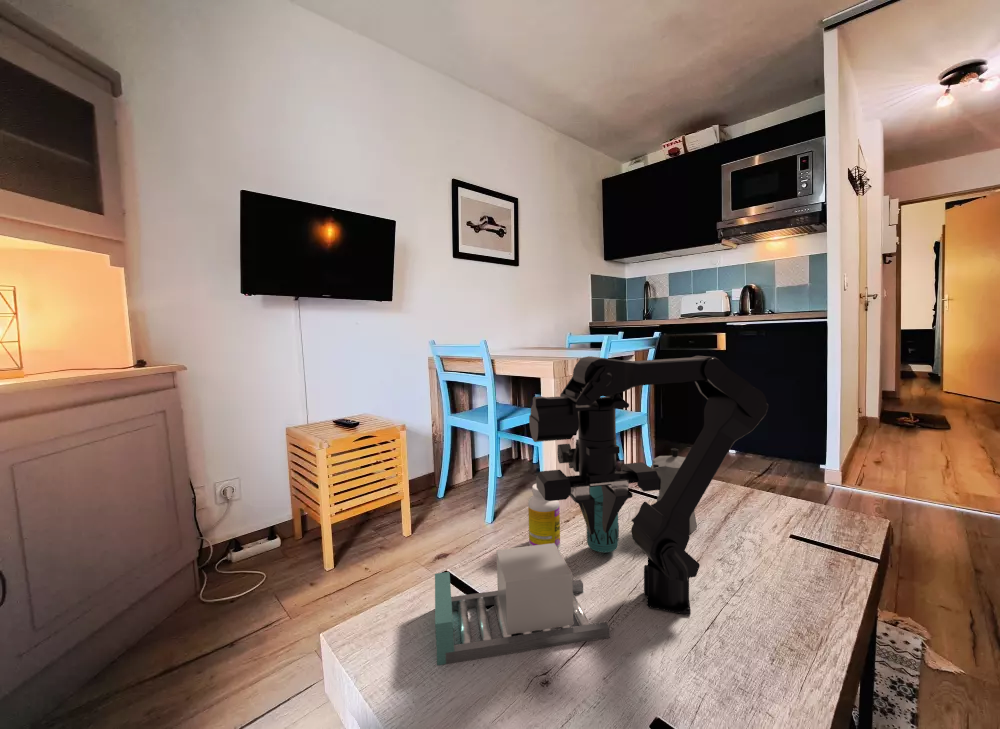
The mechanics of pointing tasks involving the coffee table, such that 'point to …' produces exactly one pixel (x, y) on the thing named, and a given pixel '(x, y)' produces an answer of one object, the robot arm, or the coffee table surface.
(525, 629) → the off-white matte cube
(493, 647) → the roller bed
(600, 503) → the beverage bottle
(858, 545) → the coffee table surface
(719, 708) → the coffee table surface
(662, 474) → the coffeepot
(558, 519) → the supplement bottle
